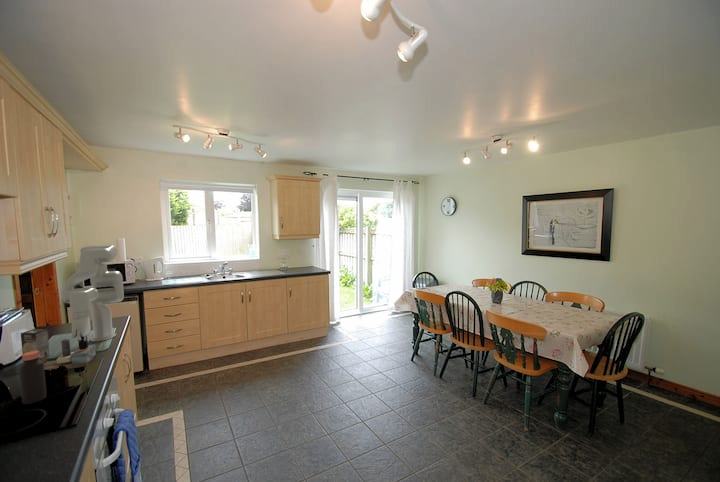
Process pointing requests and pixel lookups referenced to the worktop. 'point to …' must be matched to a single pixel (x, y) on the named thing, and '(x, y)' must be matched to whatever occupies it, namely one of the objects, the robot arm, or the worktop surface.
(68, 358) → the cream plate with knob
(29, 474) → the worktop surface
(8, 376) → the worktop surface
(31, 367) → the bottle
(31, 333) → the coffee box
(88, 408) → the worktop surface
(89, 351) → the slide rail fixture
